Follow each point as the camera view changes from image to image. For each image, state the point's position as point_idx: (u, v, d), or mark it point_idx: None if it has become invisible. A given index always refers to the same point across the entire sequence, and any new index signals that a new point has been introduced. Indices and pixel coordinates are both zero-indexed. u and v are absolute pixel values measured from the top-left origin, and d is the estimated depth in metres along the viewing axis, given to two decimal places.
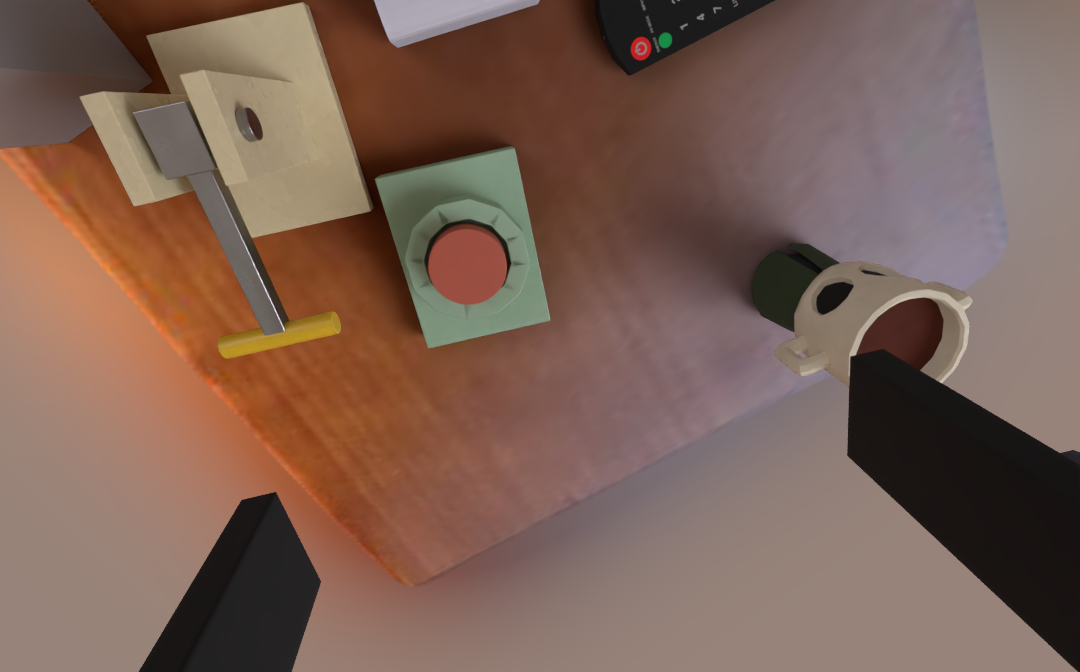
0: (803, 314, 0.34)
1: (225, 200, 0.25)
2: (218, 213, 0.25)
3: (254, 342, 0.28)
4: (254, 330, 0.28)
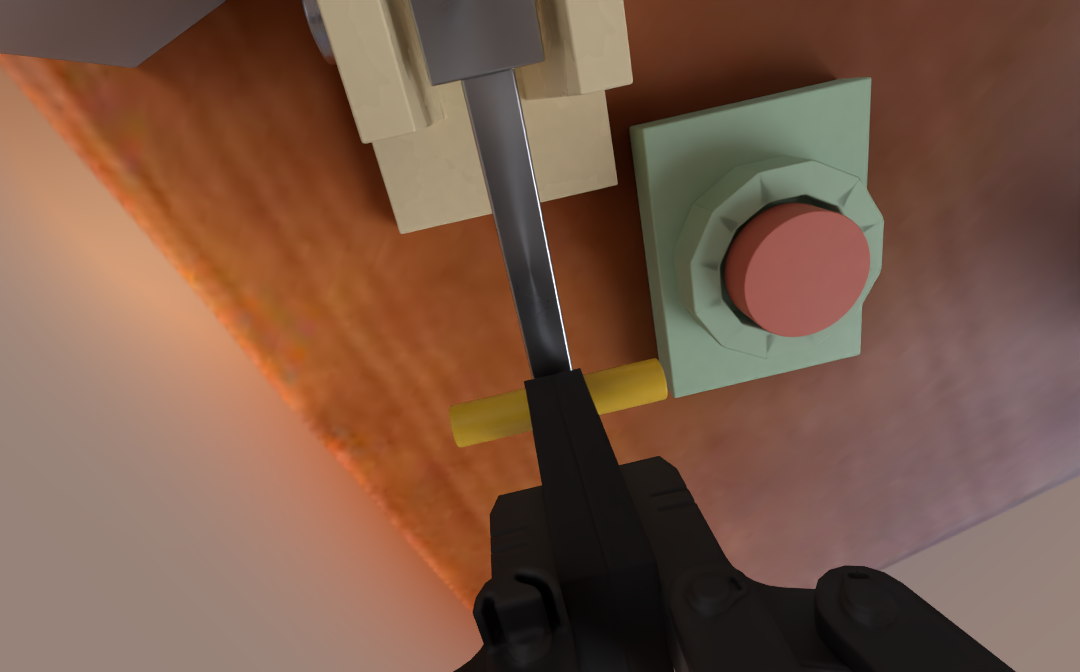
0: None
1: (527, 139, 0.12)
2: (509, 168, 0.12)
3: (520, 419, 0.15)
4: (515, 396, 0.15)
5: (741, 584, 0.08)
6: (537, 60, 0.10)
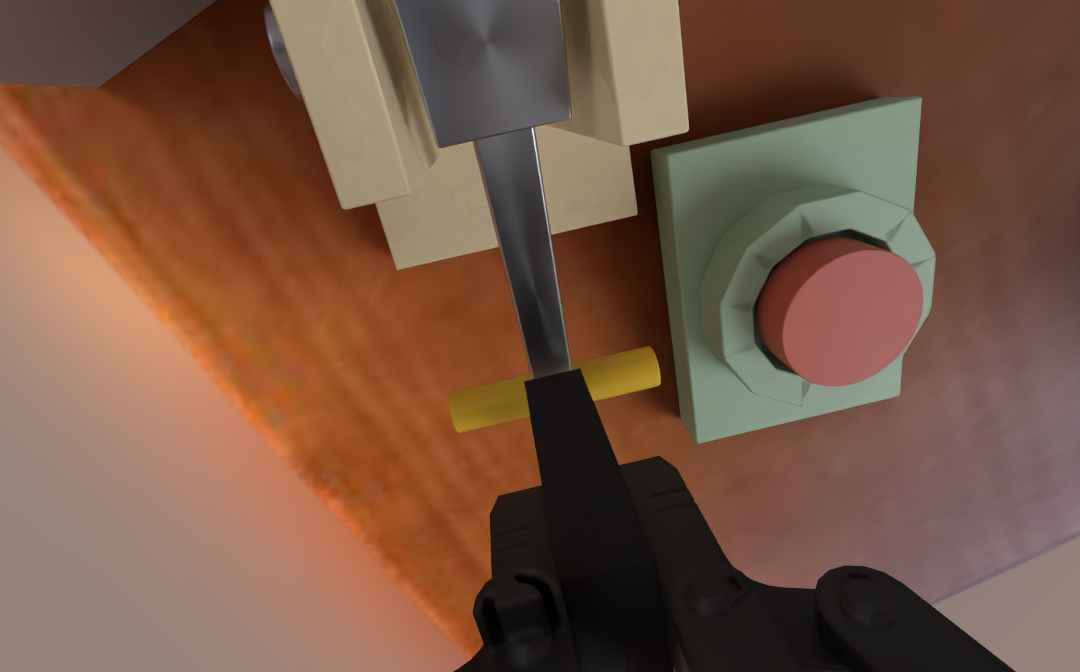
0: None
1: (542, 178, 0.10)
2: (520, 208, 0.11)
3: (519, 411, 0.15)
4: (514, 388, 0.15)
5: (741, 584, 0.08)
6: (563, 118, 0.09)
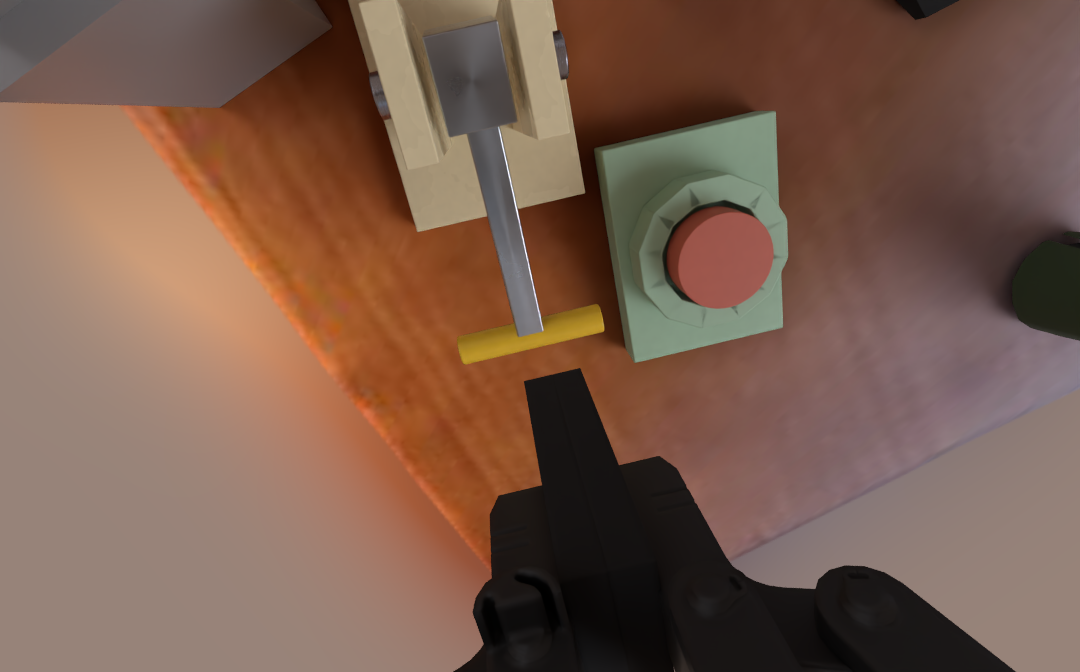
0: None
1: (507, 164, 0.18)
2: (496, 182, 0.18)
3: (505, 345, 0.22)
4: (502, 329, 0.22)
5: (741, 585, 0.08)
6: (513, 121, 0.17)
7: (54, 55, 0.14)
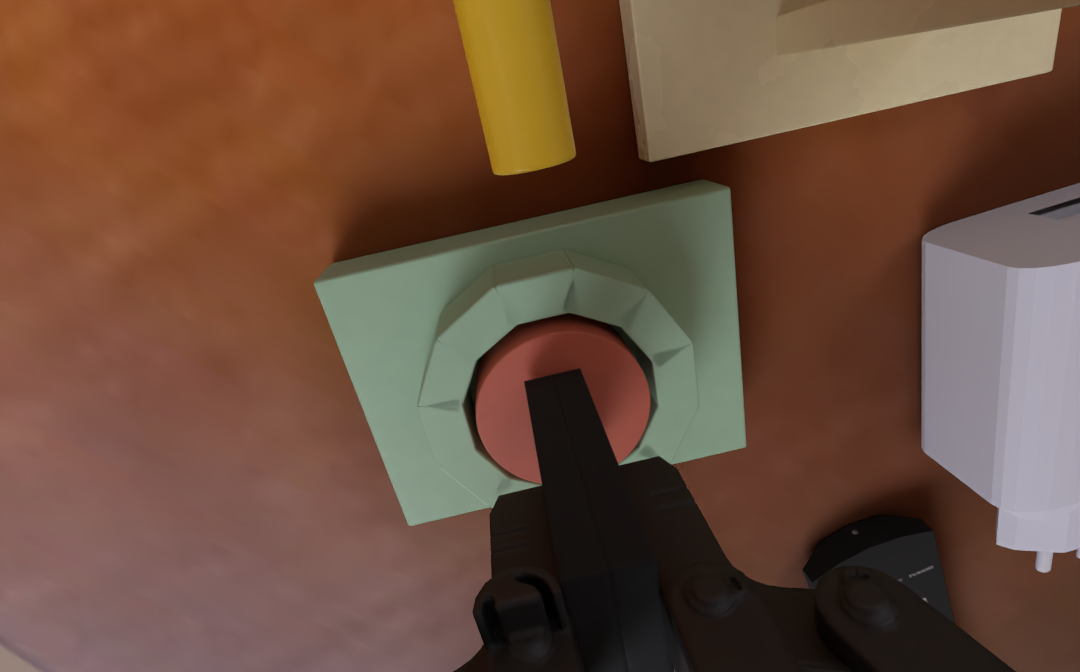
0: None
1: None
2: None
3: None
4: None
5: (741, 584, 0.08)
6: None
7: None
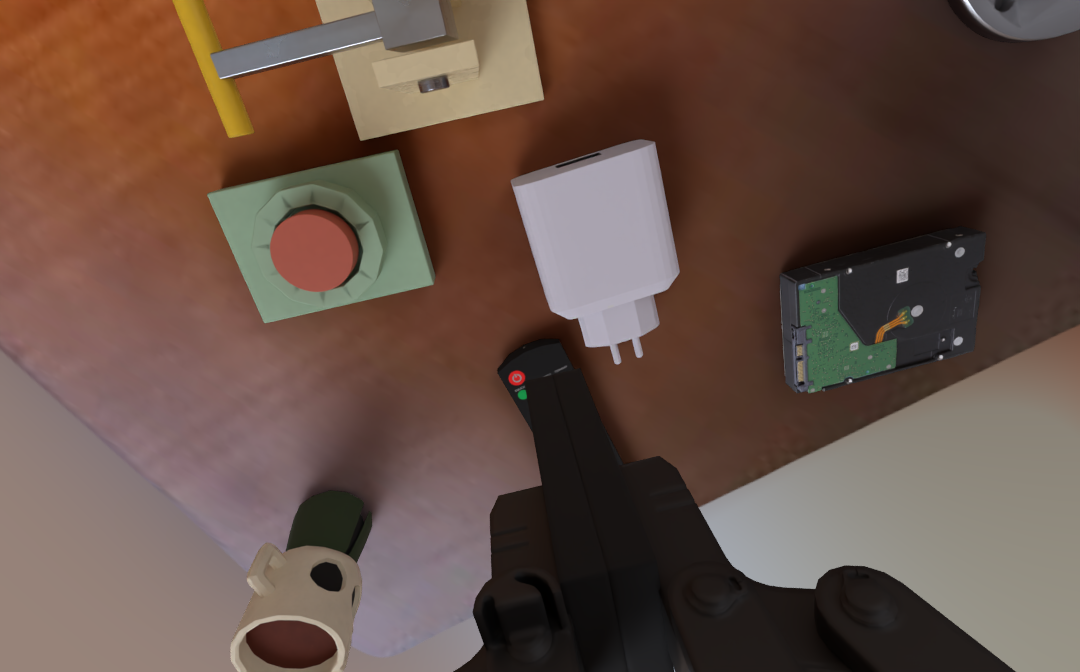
0: (308, 556, 0.38)
1: (357, 45, 0.24)
2: (342, 34, 0.24)
3: (199, 40, 0.24)
4: (214, 39, 0.25)
5: (741, 585, 0.08)
6: (385, 46, 0.23)
7: None
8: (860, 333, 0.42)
